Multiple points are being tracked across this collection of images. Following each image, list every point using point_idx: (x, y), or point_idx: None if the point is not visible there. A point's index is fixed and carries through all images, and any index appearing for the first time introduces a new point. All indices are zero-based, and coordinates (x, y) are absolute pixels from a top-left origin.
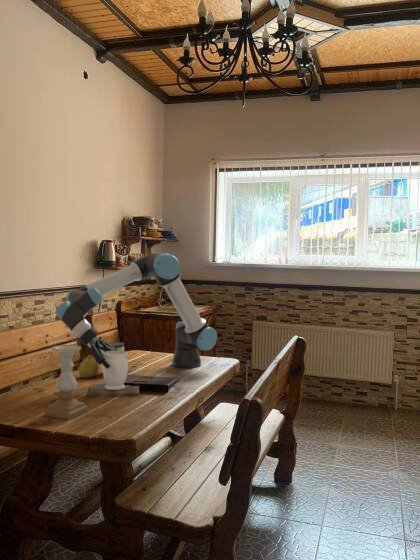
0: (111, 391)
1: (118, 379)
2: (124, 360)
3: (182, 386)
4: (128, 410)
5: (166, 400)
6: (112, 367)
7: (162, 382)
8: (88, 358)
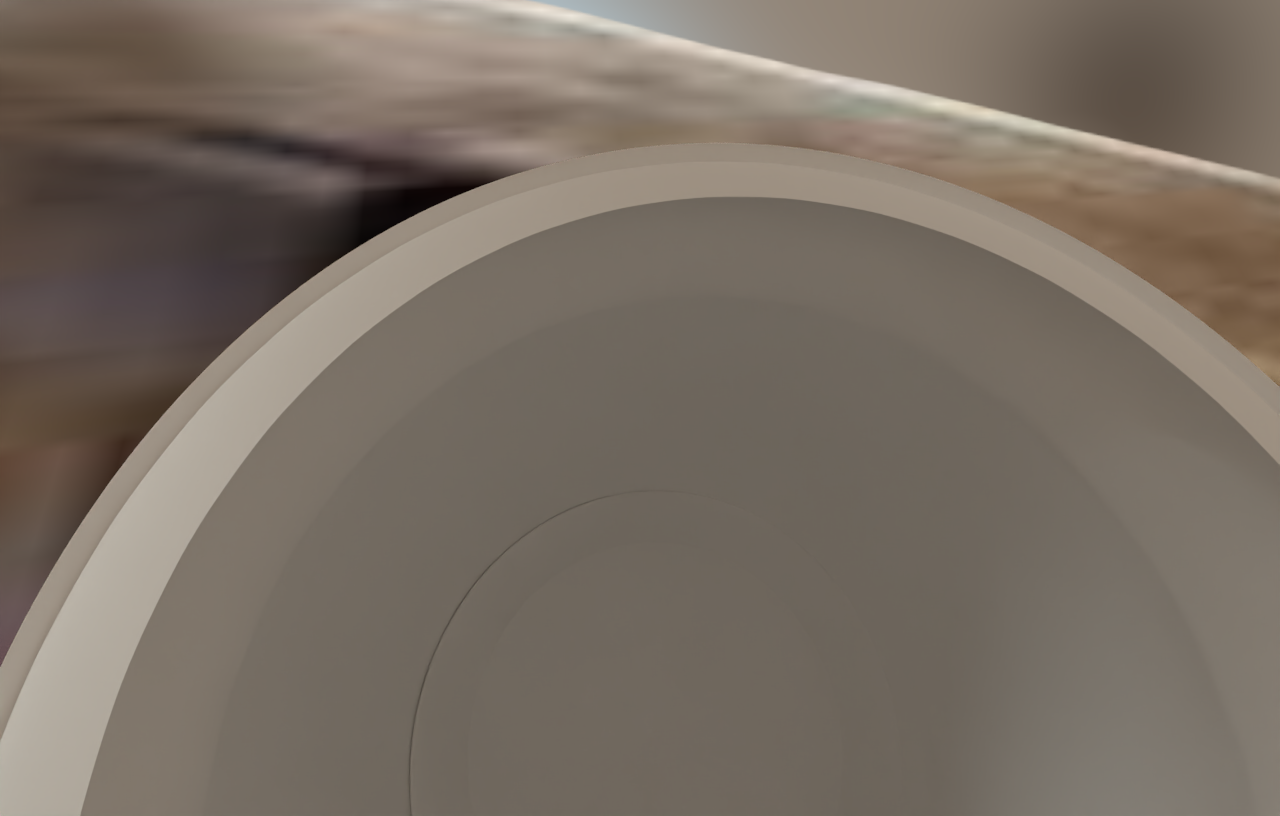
0: None
1: (829, 609)
2: (872, 356)
3: (418, 90)
4: None
5: None
6: None
7: (232, 240)
8: None
